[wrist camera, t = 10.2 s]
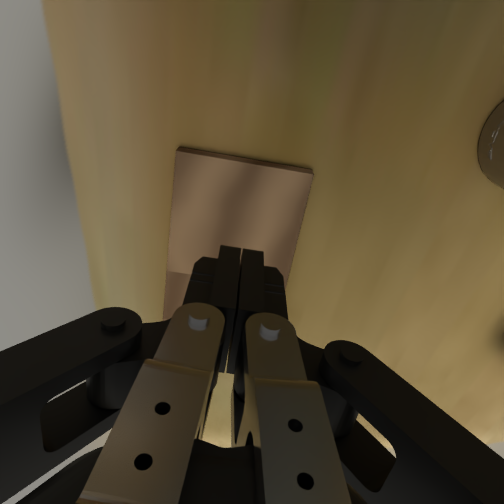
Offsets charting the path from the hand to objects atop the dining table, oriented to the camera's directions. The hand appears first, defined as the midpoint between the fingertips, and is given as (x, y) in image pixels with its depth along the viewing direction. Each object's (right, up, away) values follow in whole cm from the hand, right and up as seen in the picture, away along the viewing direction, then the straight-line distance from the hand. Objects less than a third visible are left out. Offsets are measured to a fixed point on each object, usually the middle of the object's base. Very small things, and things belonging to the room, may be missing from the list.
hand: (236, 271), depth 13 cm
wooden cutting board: (-2, 0, +26) cm, 26 cm away
